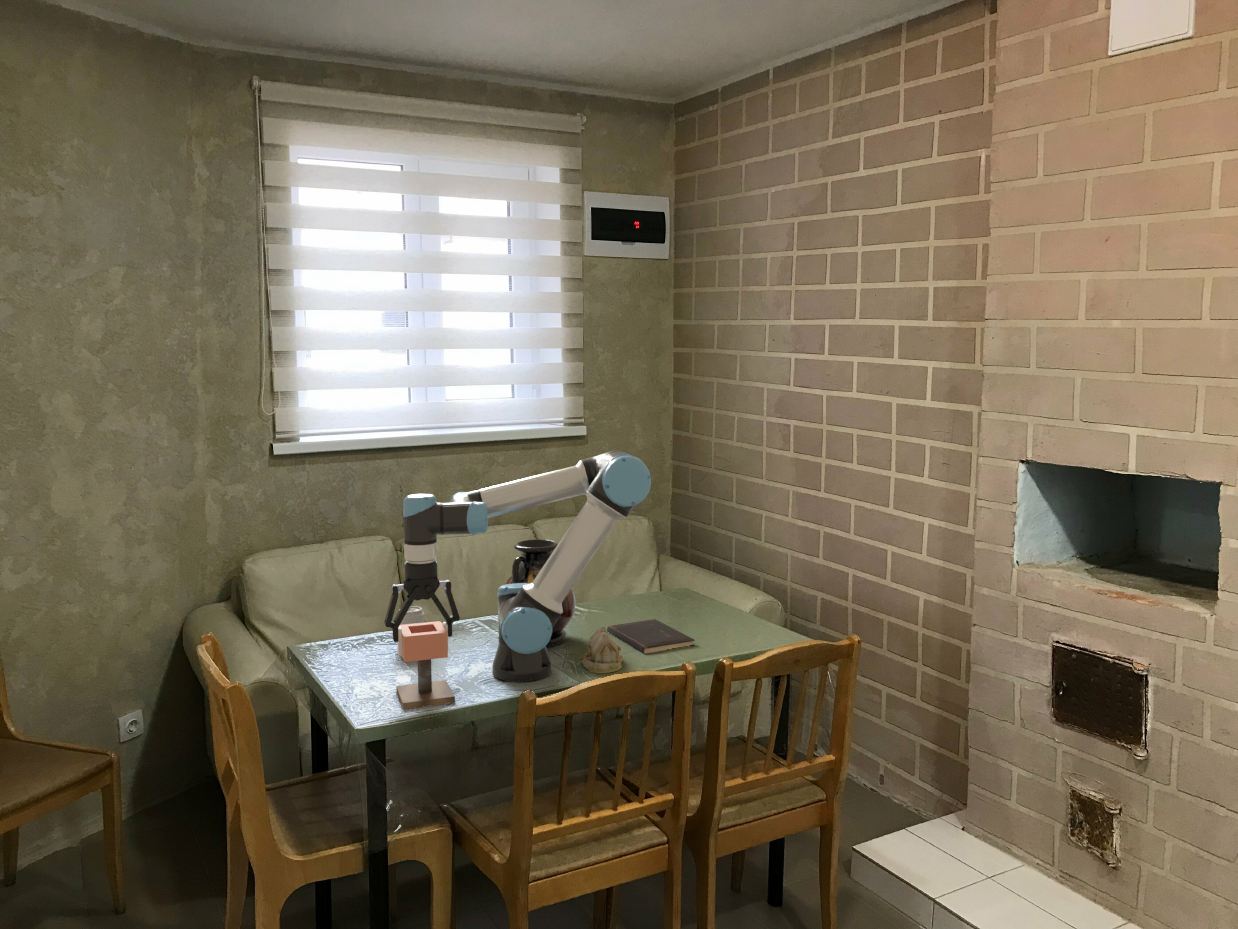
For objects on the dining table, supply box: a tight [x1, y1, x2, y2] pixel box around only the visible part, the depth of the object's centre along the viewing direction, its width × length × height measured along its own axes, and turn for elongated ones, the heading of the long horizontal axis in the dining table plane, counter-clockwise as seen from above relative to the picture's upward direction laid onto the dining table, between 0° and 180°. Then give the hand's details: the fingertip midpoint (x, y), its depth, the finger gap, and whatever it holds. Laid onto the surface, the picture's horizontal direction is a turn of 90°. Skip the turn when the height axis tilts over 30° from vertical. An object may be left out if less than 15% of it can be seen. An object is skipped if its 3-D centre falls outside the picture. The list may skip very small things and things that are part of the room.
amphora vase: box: [503, 539, 576, 648], centre depth 274 cm, size 22×22×28 cm
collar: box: [400, 620, 449, 663], centre depth 229 cm, size 10×10×6 cm
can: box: [398, 605, 426, 625], centre depth 266 cm, size 8×8×12 cm
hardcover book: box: [606, 618, 696, 655], centre depth 276 cm, size 16×23×2 cm
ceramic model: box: [581, 626, 624, 674], centre depth 254 cm, size 14×11×10 cm
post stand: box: [395, 659, 456, 710], centre depth 231 cm, size 12×12×10 cm
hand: (423, 652), depth 230 cm, fingers closed on collar, 10 cm apart
